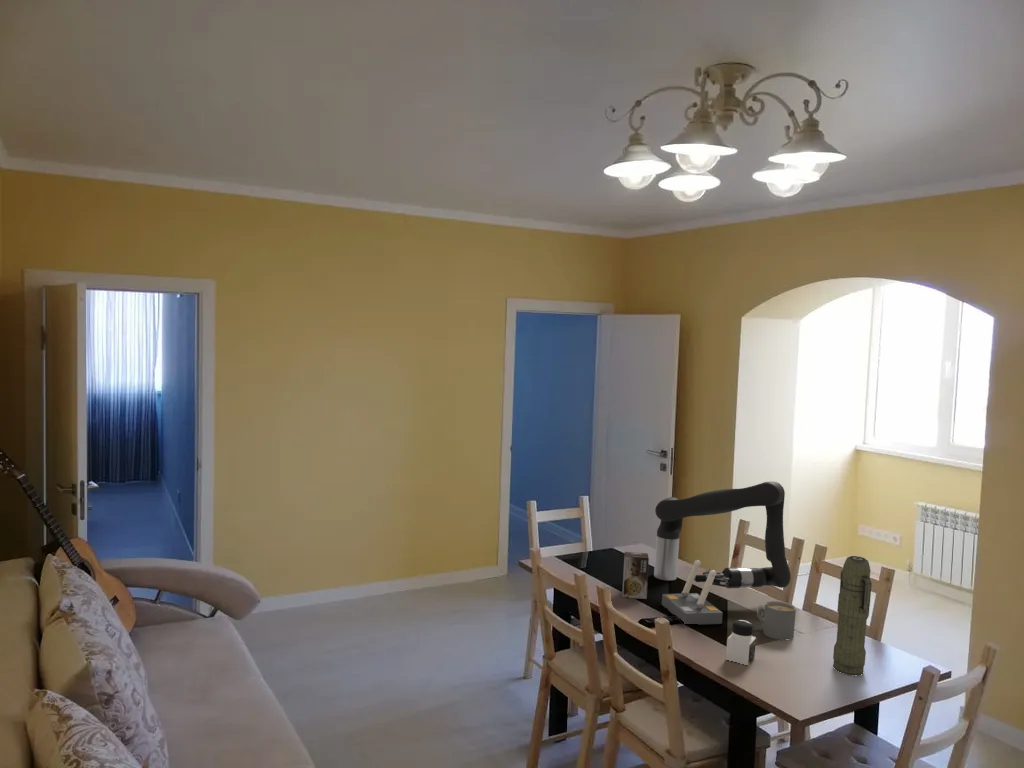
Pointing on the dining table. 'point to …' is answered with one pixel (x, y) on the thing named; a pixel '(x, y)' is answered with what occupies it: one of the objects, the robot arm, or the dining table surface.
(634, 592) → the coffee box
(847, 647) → the thermos
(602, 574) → the dining table surface
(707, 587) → the switch
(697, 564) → the switch
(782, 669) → the dining table surface
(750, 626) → the medicine bottle
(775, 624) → the coffee mug
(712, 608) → the switch unit
